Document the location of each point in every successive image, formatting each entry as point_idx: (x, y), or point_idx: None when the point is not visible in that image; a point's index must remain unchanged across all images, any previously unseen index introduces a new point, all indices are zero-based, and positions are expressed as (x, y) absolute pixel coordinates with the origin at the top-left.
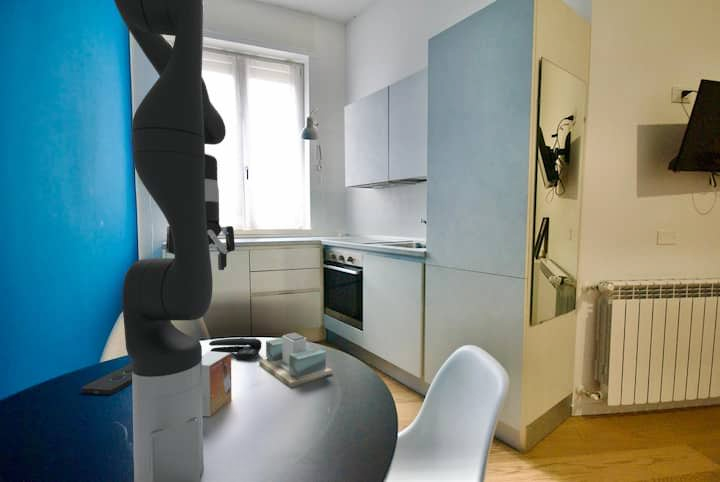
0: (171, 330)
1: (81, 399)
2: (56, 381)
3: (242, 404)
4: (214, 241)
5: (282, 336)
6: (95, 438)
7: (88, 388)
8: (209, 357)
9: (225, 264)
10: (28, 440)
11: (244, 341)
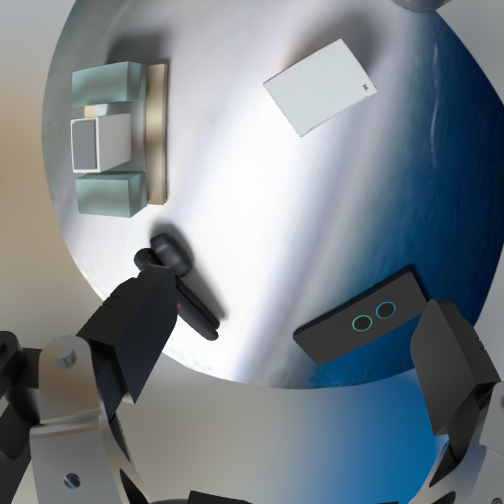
0: None
1: (435, 279)
2: None
3: (266, 59)
4: (114, 501)
5: (100, 170)
6: (462, 138)
7: (424, 299)
8: (321, 87)
9: (123, 290)
10: (500, 202)
11: None
